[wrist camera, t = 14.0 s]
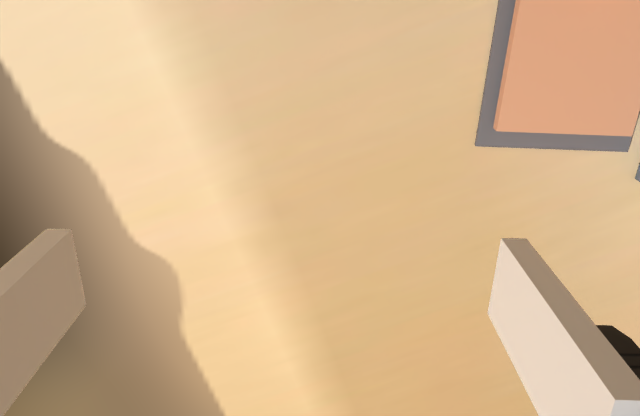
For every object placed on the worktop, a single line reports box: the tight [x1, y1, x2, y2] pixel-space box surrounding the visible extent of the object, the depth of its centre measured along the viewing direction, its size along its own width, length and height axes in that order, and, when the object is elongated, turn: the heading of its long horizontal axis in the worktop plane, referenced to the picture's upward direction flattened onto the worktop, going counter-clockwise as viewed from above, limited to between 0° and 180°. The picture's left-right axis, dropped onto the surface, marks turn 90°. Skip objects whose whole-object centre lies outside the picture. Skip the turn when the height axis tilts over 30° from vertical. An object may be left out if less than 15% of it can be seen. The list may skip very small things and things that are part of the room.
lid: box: [493, 0, 640, 137], centre depth 37 cm, size 18×11×5 cm, turn 178°
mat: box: [475, 0, 640, 152], centre depth 40 cm, size 17×13×1 cm
